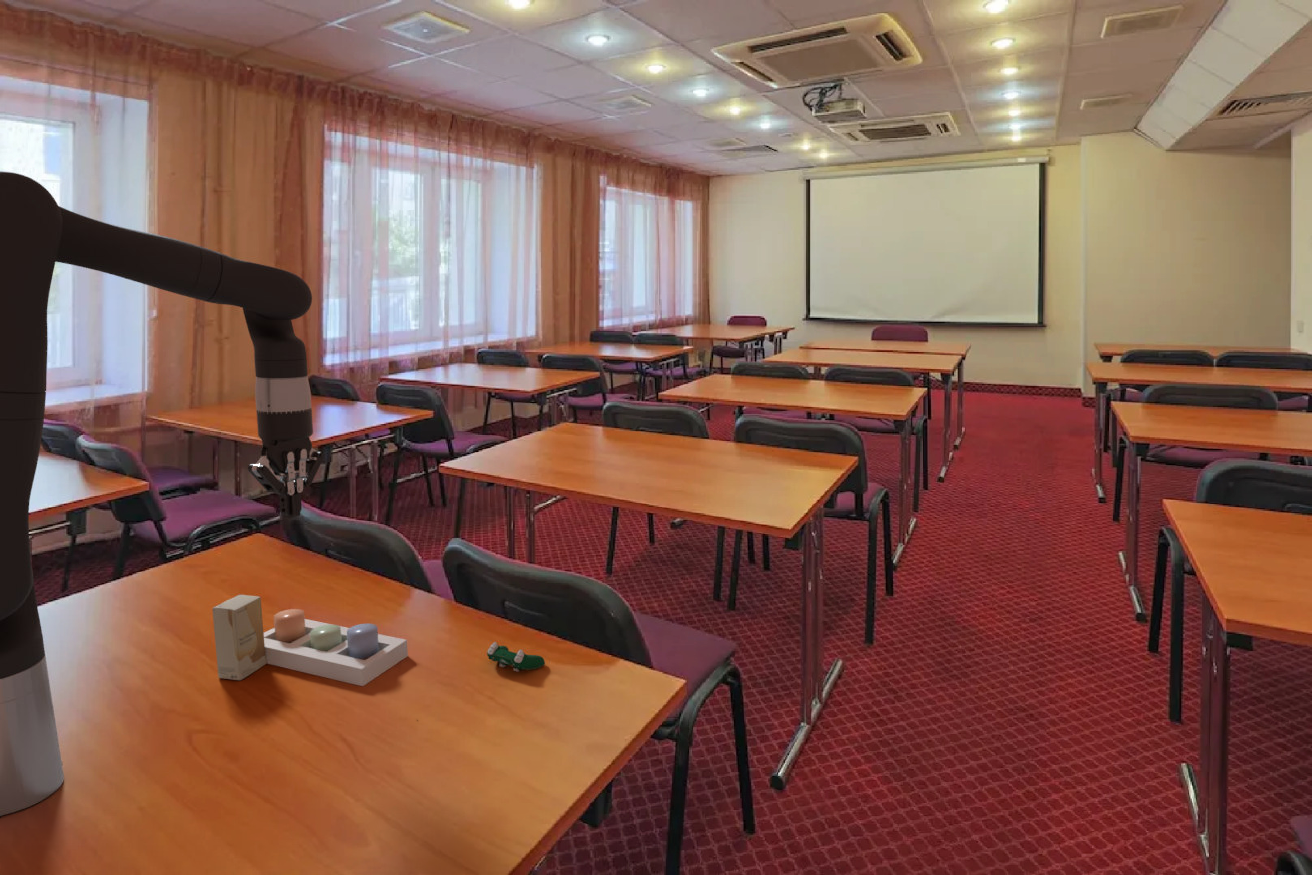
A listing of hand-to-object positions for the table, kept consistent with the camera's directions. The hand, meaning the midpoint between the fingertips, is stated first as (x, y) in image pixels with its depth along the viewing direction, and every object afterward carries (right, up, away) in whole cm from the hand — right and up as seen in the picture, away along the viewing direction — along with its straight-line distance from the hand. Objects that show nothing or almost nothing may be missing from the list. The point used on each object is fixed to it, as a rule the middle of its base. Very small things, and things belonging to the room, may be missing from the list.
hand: (291, 516), depth 116 cm
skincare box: (-12, -27, +8) cm, 30 cm away
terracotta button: (-8, -23, +15) cm, 28 cm away
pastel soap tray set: (0, -26, +13) cm, 29 cm away
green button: (0, -25, +13) cm, 28 cm away
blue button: (+7, -24, +10) cm, 27 cm away
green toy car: (+33, -27, +11) cm, 44 cm away
